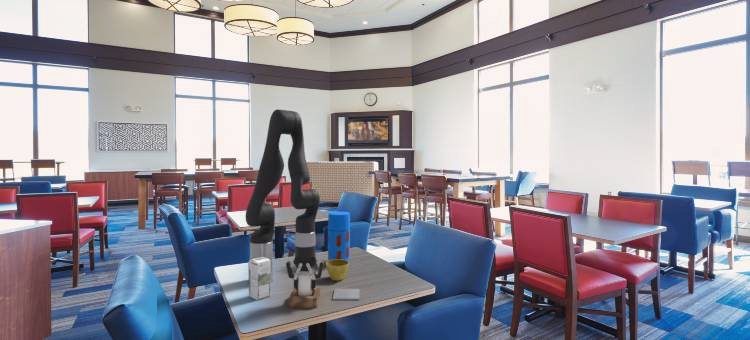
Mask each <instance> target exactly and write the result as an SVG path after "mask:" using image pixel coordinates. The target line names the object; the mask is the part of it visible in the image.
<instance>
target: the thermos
mask: <svg viewBox="0 0 750 340" xmlns="http://www.w3.org/2000/svg"><path fill="white" fill-rule="evenodd" d="M327 220H328V221H327V223H328V225H327V227H328V228H327V229H328V230H327V236H328V237H327V261H329V260H335V259H341V260H346V261H348V262H349V263H350V258H351V254H350V253H351V248H350V247H351V213H350V212H348V211H330V212H328V218H327Z"/></svg>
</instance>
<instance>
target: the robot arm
mask: <svg viewBox="0 0 750 340" xmlns="http://www.w3.org/2000/svg"><path fill="white" fill-rule="evenodd" d="M266 135H267V136H266V139H265V140H266V142H265V145H264V150H263V153H262V158H261V161H260V163H259V168H258V172H257V176H256V179H255V180H256V181H255V185H254V187H253V192H252V194H251V196H250V199H249V201H248V205H247V207H246V211H245V222H246V224H247V225H248V226H249V227H252V228H253V227H259V228H258V229H257V230H256V231H255V232H253V233H251V234H250V236H249V260H252V259H256V258H260V257H265V258H267V259H269V260H271V265H270V283H272V282H273V281H274V279H273V276H274V273H273V272H274V270H273V269H274V268H273V265H274V262H273V260H274V259H273V257H274V256H273V255H274V251H273V249H274V248H273V247H274V243H273V242H274V240H273V237H274V235H275V221H276V219H275V218H276V213H275V209H274V206H273V205H272V203H269V202H266V203H264V202H265V201H266V198H267V197H268V196H269V195H270V194H271V193H272V192H273V191H274V190H275V188H276V187H277V186H278V185H279V184H280V182H281V180H282V177H283V174H284V169H285V162H284V159H283V156H282V152H281V149H280V139H281V136H282V135H288V136H290V137H291V142H292V146H291V150H290V153H289V155H288V159H287V168H288V169H287V171H288V173H289V178H290V198H289V199H290V200H289V201H290V205H292V207H293V208H294V209H295V210H304V212H303V213H302V214H300V215H297V216H296V218H295V233H294V259H293V260H287V262H286V263H285V266H286V270H287V276H288V278H289V279H293V289H294V288H295V289H296V290H298V275H299V272H300V271H309V272H310V275H311V277H312V290H314V288H317V279H320V278H322V274H323V269H324V264H325V262H324V260H317V257H316V256H317V255H316V245H317V244H316V243H317V240H316V239H317V238H316V218H317V213H318V211H319V207H320V203H321V196H320V194H319V192H318V191H317V190H316V189H314V188H311V189H310V188H308V189H303V187H302V186H304V185H306V184H309V182H310V181H311V177H310V172H309V168H308V164H307V159H306V154H305V143H304V142H305V138H304V128H303V122H302V117H301V115H300V113H298V112H297V111H293V110H287V109H275V110H274V111H273V112H272V113H271V115H270V118H269V122H268V128H267V134H266ZM316 265H317V268H318V272H317V274H316V270H315V266H316ZM293 266H295V267H296V271H295V274H294V272H293Z"/></svg>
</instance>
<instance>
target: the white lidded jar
mask: <svg viewBox="0 0 750 340" xmlns="http://www.w3.org/2000/svg"><path fill="white" fill-rule="evenodd" d="M298 296H312V277H311V275H310V272H309V271H300V272H299V275H298Z"/></svg>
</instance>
